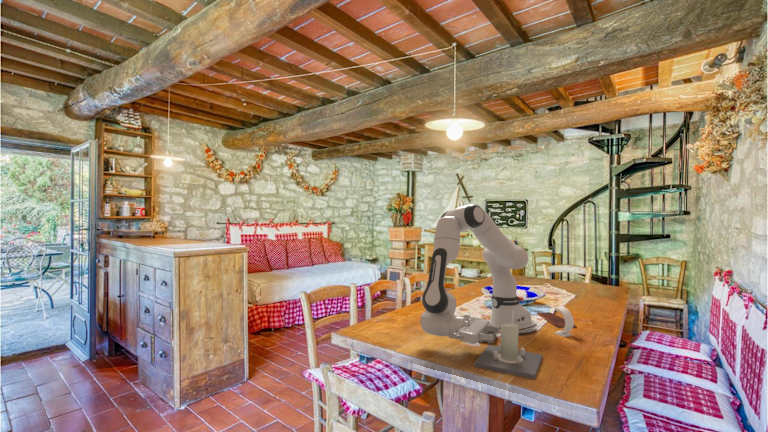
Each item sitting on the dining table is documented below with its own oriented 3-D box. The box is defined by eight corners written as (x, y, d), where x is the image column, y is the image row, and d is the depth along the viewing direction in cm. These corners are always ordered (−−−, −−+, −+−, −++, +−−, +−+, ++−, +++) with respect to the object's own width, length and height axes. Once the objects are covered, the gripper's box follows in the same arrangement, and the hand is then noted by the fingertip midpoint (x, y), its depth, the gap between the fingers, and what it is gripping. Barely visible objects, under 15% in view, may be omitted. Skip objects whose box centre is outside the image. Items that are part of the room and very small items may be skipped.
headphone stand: (561, 332, 166) (562, 306, 166) (573, 336, 161) (573, 309, 161) (554, 333, 164) (555, 307, 164) (566, 337, 159) (566, 310, 159)
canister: (510, 353, 137) (510, 321, 137) (521, 359, 131) (521, 326, 131) (497, 355, 135) (497, 323, 134) (507, 362, 129) (508, 328, 129)
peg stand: (488, 348, 146) (488, 337, 146) (542, 358, 136) (542, 346, 136) (474, 366, 129) (474, 354, 129) (534, 379, 119) (535, 365, 119)
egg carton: (492, 345, 151) (492, 335, 151) (475, 342, 155) (475, 332, 155) (498, 337, 160) (498, 328, 160) (481, 334, 164) (481, 325, 164)
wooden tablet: (578, 329, 173) (578, 325, 173) (557, 329, 173) (557, 325, 173) (552, 313, 199) (552, 310, 199) (534, 313, 199) (534, 310, 199)
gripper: (451, 327, 133) (489, 333, 126) (467, 313, 151) (502, 318, 144) (451, 344, 133) (489, 351, 126) (467, 328, 151) (502, 334, 144)
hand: (496, 333), depth 135 cm, fingers open, 8 cm apart
